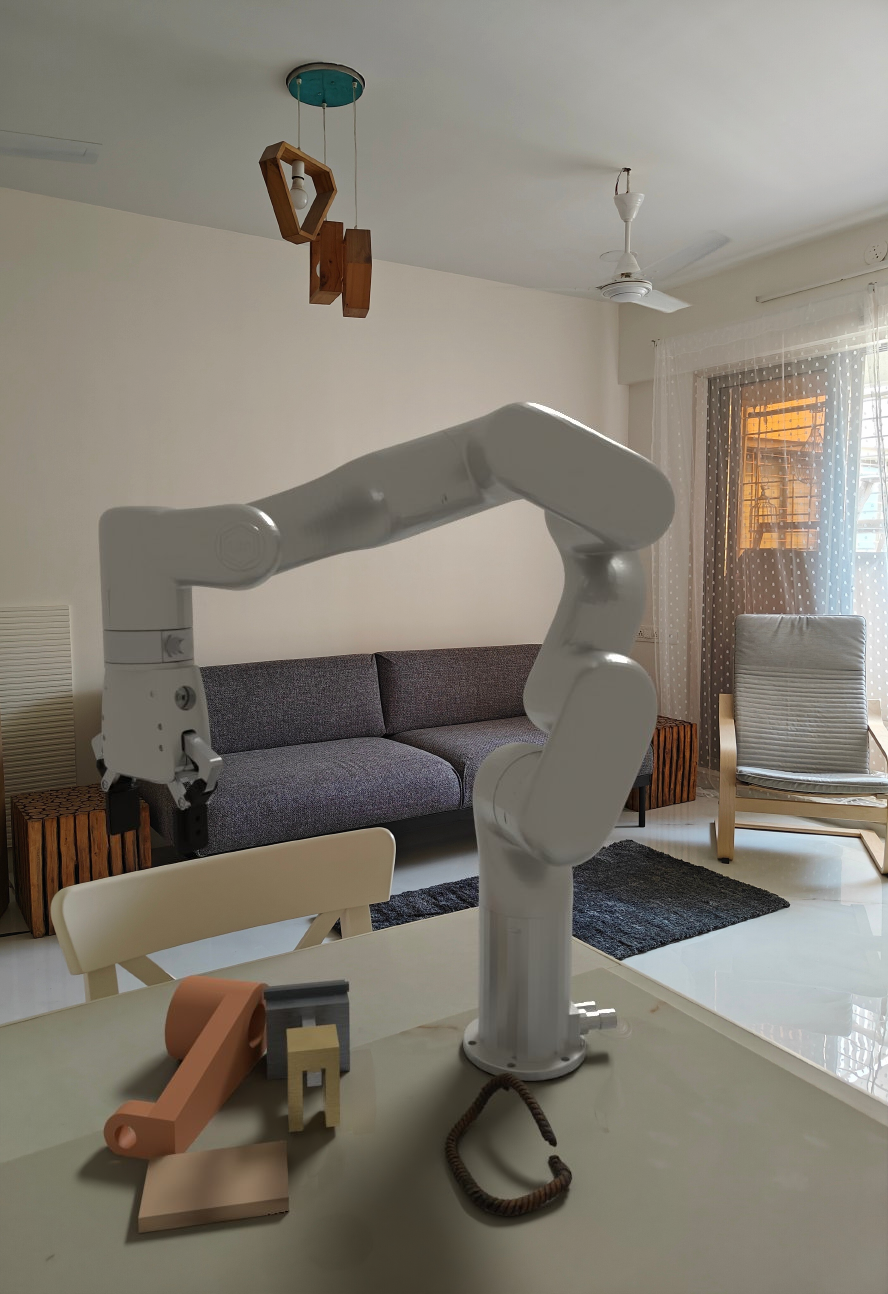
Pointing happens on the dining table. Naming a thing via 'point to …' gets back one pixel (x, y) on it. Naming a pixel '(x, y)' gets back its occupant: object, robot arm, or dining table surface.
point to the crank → (195, 1065)
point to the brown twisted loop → (559, 1167)
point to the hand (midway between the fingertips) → (156, 840)
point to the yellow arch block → (310, 1053)
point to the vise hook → (305, 1021)
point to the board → (214, 1186)
